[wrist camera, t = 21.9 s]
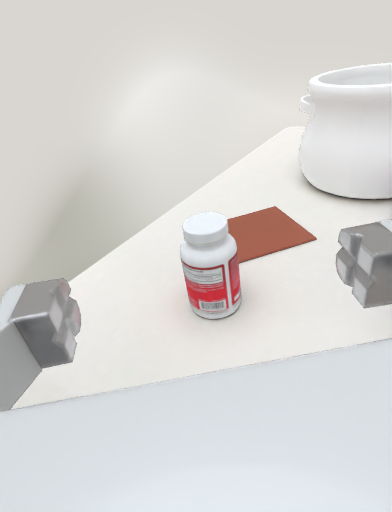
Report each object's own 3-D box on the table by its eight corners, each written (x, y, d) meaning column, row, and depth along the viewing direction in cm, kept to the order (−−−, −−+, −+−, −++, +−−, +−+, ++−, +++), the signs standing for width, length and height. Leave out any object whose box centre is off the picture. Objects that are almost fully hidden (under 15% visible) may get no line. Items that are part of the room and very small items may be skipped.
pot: (456, 160, 64) (487, 54, 55) (439, 218, 49) (480, 85, 39) (318, 151, 79) (324, 65, 69) (273, 193, 63) (272, 91, 54)
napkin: (226, 267, 46) (226, 265, 46) (199, 228, 56) (199, 227, 56) (316, 239, 49) (316, 237, 49) (275, 207, 59) (275, 206, 58)
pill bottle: (222, 279, 44) (213, 202, 38) (252, 304, 40) (247, 221, 33) (181, 300, 42) (164, 222, 36) (208, 329, 37) (194, 245, 31)
